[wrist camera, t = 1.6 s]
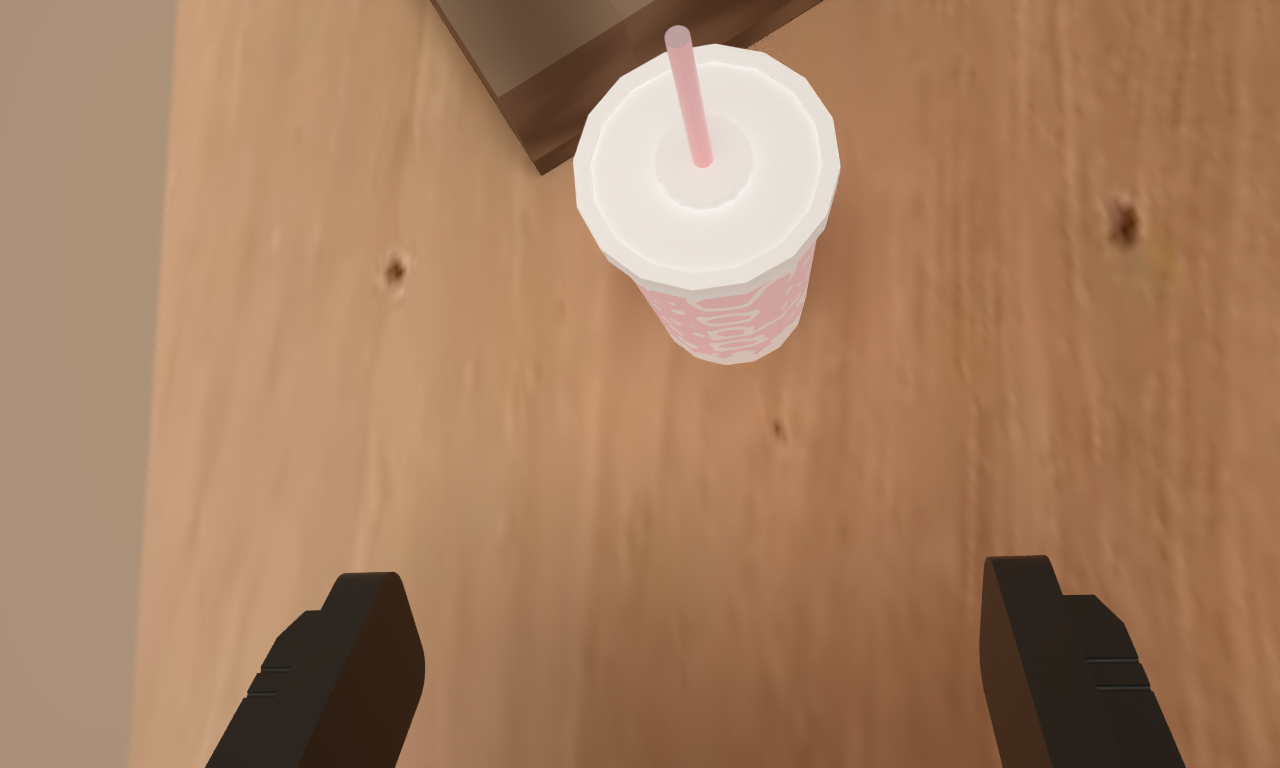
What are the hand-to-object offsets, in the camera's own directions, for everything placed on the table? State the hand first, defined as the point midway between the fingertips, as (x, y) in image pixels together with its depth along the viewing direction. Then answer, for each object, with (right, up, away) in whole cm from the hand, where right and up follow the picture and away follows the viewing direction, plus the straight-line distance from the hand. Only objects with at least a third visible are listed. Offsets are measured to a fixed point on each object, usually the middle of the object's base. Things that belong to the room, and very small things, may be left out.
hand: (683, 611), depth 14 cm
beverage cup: (+2, +6, +18) cm, 19 cm away
